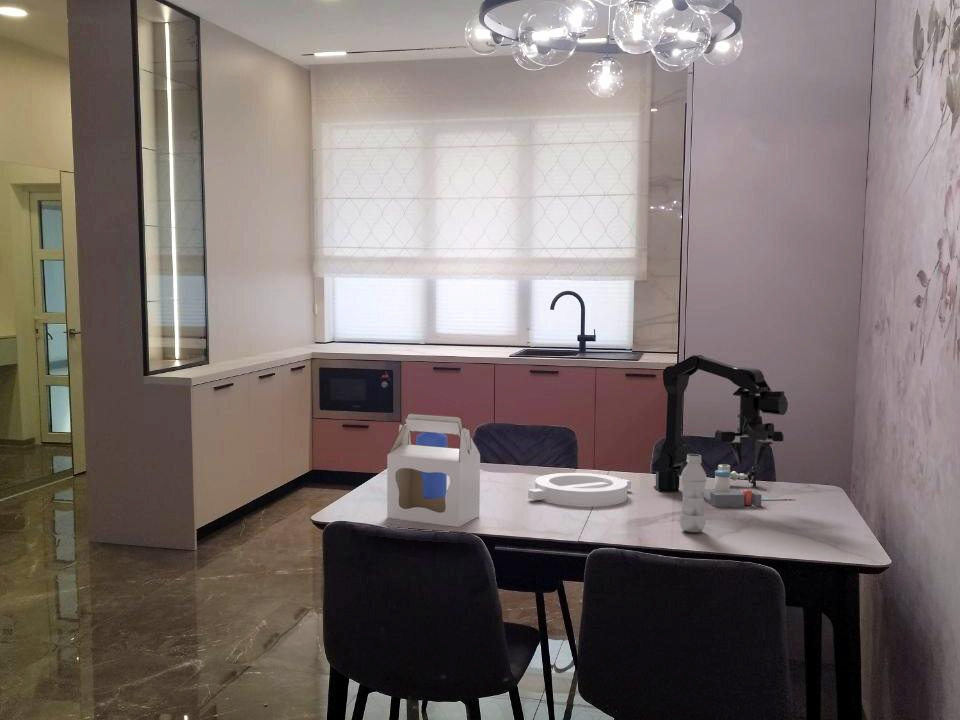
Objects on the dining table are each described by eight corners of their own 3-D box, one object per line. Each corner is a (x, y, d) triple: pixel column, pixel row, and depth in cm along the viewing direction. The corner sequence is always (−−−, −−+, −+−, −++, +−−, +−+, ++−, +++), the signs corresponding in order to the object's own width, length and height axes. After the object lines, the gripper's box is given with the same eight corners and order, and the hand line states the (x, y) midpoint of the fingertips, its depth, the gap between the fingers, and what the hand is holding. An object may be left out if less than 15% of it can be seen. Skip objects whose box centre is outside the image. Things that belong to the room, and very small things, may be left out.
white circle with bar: (525, 503, 250) (525, 487, 249) (545, 484, 277) (546, 470, 276) (620, 510, 242) (621, 494, 241) (632, 491, 268) (632, 476, 268)
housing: (714, 506, 246) (715, 495, 246) (692, 492, 265) (692, 481, 265) (761, 506, 247) (761, 494, 247) (735, 492, 267) (735, 481, 266)
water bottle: (409, 500, 250) (410, 416, 249) (426, 494, 258) (426, 413, 257) (436, 504, 246) (437, 419, 244) (452, 498, 254) (453, 415, 252)
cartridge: (717, 499, 257) (718, 472, 256) (712, 495, 261) (712, 470, 261) (732, 498, 257) (733, 472, 256) (726, 495, 261) (727, 469, 261)
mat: (756, 500, 255) (757, 499, 255) (744, 493, 265) (744, 492, 265) (795, 500, 256) (795, 499, 256) (781, 493, 266) (781, 492, 266)
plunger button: (744, 504, 247) (744, 491, 247) (740, 502, 250) (741, 489, 250) (753, 504, 248) (753, 491, 247) (749, 502, 250) (749, 489, 250)
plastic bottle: (700, 528, 222) (702, 453, 220) (708, 535, 215) (710, 457, 214) (676, 528, 221) (678, 452, 220) (683, 535, 215) (685, 457, 213)
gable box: (385, 518, 230) (386, 415, 228) (409, 507, 242) (410, 410, 240) (459, 527, 220) (460, 421, 219) (480, 516, 232) (481, 415, 231)
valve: (717, 487, 275) (756, 489, 272) (718, 466, 274) (756, 468, 272) (716, 482, 281) (754, 484, 278) (716, 463, 281) (754, 465, 278)
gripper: (729, 415, 238) (727, 470, 239) (793, 415, 240) (791, 469, 241) (714, 410, 249) (713, 463, 250) (775, 410, 251) (774, 462, 252)
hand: (748, 464), depth 248 cm, fingers open, 5 cm apart
